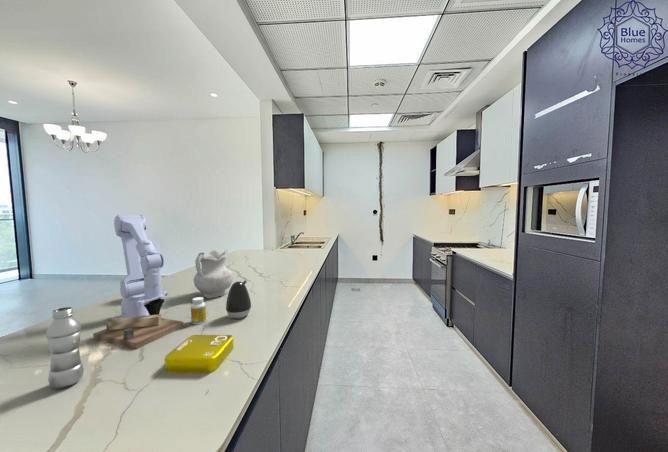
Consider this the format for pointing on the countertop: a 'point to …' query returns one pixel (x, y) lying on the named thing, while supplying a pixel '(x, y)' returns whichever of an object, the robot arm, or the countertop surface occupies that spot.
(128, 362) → the countertop surface
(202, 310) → the supplement bottle
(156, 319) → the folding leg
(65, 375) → the plastic bottle
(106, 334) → the wooden board
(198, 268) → the ceramic pitcher
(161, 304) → the robot arm
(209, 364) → the element tile
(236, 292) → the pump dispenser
